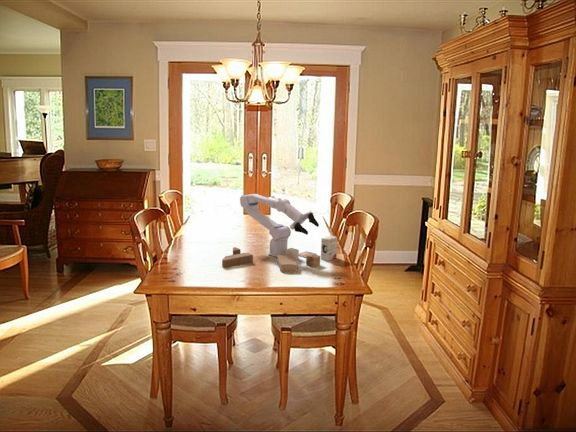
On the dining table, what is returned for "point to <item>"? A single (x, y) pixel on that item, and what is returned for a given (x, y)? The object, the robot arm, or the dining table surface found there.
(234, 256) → the wooden block set
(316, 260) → the walnut block
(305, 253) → the card
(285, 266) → the brick
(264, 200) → the robot arm
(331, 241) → the ink box
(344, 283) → the dining table surface
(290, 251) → the cream cube
